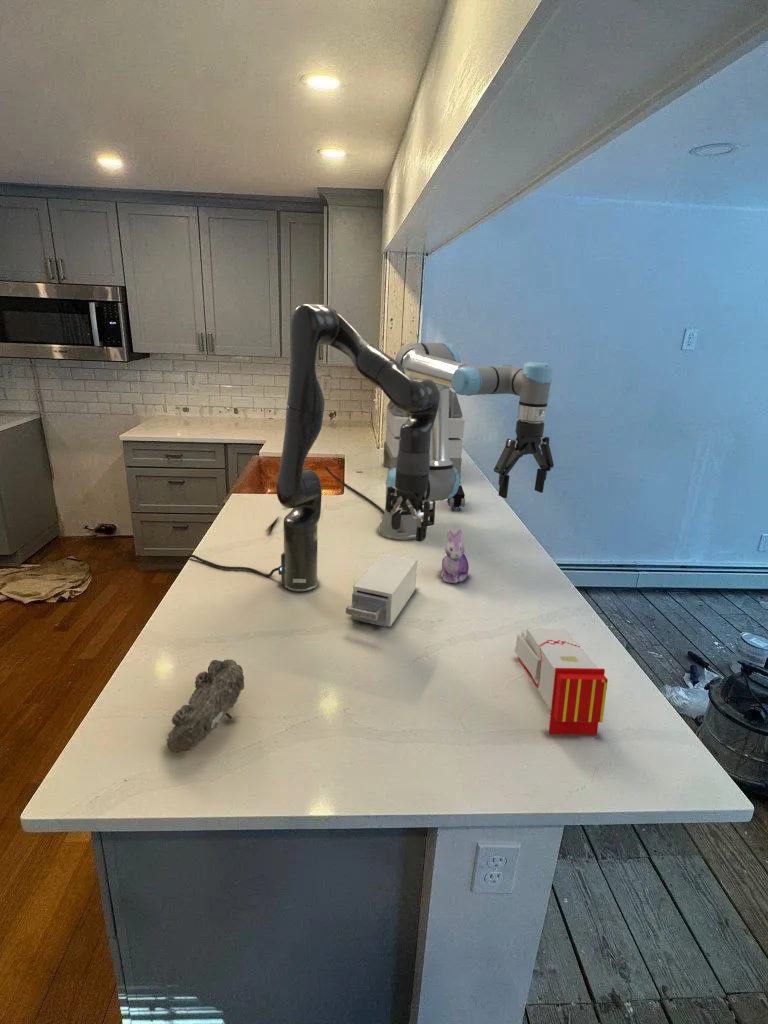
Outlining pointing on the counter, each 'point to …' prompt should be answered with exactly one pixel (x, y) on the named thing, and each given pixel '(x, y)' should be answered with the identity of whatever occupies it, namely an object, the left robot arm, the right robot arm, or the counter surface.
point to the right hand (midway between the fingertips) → (520, 494)
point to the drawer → (369, 608)
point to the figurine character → (457, 499)
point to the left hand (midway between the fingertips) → (407, 534)
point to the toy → (564, 680)
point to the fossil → (206, 705)
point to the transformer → (399, 417)
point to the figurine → (454, 559)
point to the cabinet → (390, 582)
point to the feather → (272, 525)
